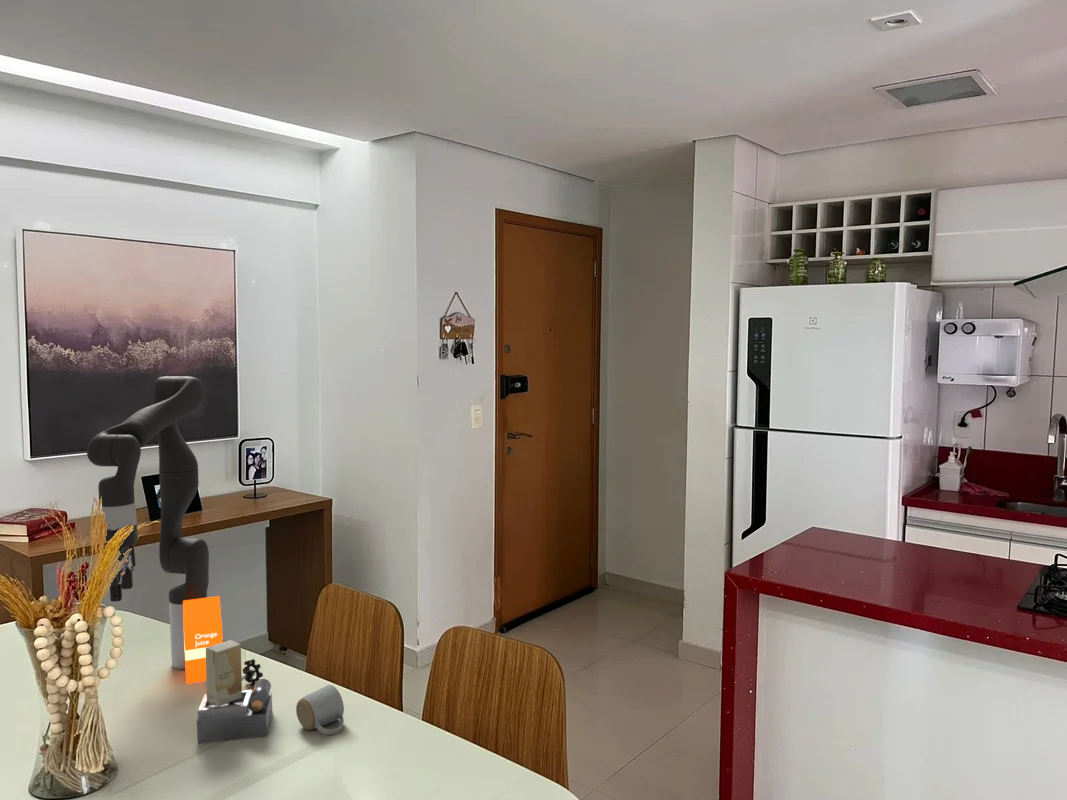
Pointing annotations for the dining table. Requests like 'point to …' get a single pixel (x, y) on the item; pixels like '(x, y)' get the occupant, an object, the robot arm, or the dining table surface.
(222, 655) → the skincare box
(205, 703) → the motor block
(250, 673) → the valve
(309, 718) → the ceramic mug
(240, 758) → the dining table surface
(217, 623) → the orange juice
